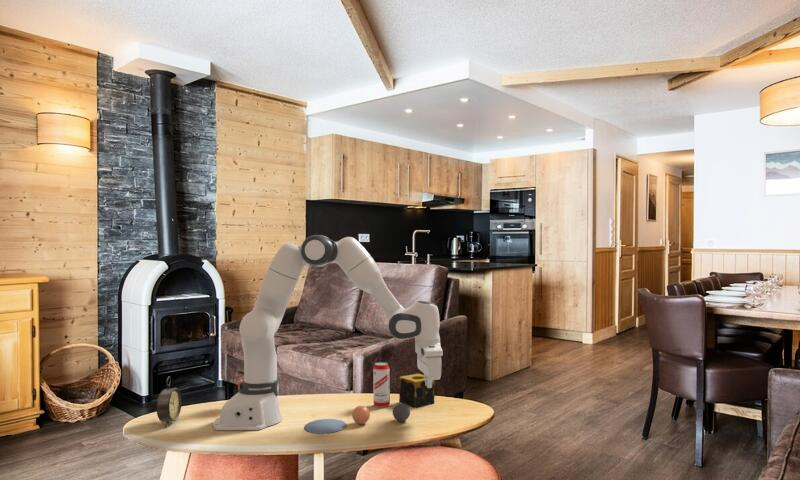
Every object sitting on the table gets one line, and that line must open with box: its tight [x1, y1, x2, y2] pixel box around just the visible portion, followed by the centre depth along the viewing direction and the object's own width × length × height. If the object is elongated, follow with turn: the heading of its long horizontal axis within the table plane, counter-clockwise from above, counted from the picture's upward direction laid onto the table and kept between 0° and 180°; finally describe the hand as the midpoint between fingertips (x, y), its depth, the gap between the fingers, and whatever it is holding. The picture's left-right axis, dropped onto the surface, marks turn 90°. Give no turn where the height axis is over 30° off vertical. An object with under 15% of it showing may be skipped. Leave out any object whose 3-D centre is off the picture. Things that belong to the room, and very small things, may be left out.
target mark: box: [304, 418, 347, 435], centre depth 166 cm, size 14×14×1 cm
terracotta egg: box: [351, 405, 371, 425], centre depth 168 cm, size 6×6×6 cm
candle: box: [398, 373, 435, 409], centre depth 192 cm, size 10×10×10 cm
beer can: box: [372, 361, 391, 409], centre depth 189 cm, size 6×6×16 cm
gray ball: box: [392, 402, 411, 422], centre depth 171 cm, size 6×6×6 cm
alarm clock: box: [156, 376, 182, 429], centre depth 170 cm, size 11×5×16 cm, turn 3°
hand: (428, 387), depth 173 cm, fingers closed
